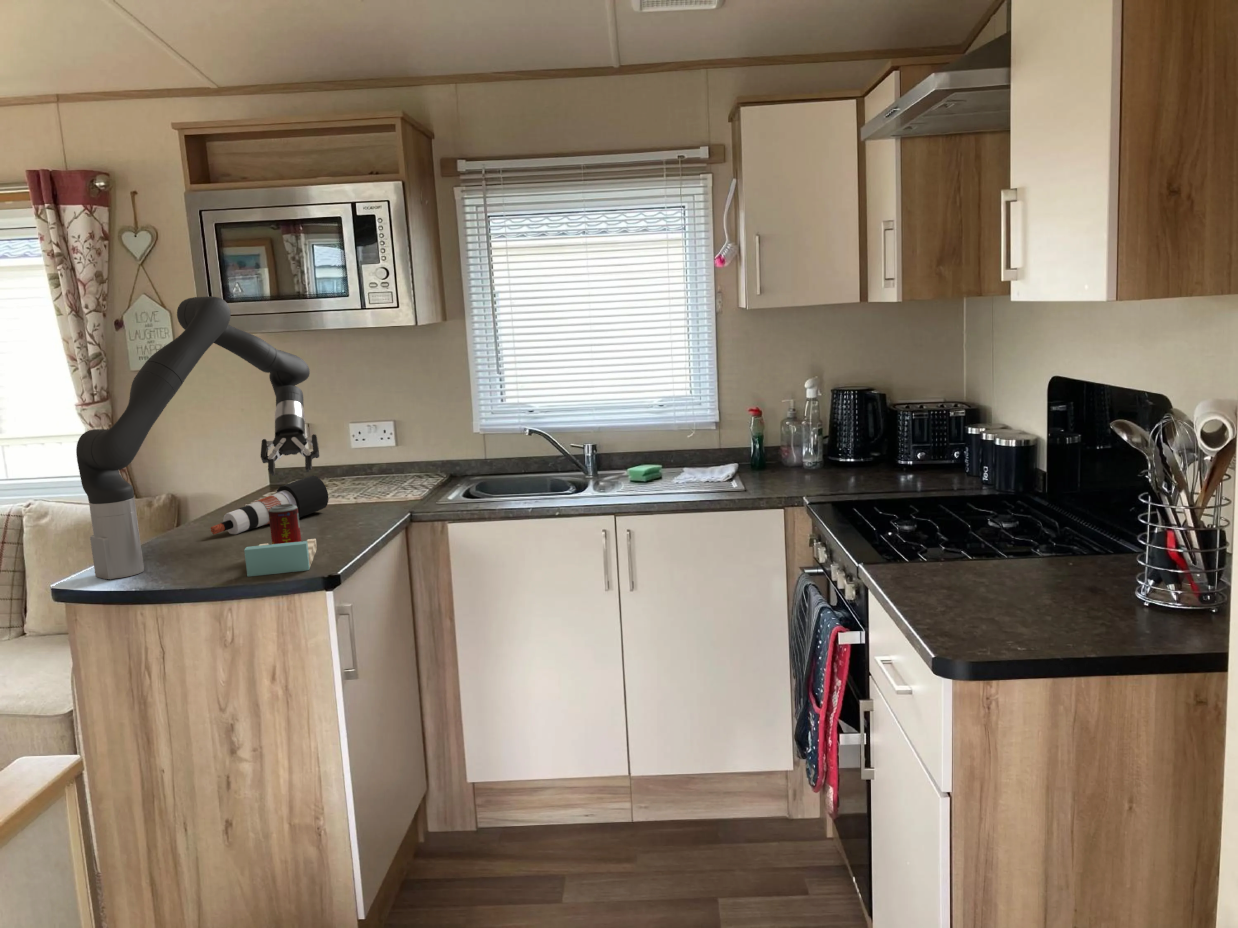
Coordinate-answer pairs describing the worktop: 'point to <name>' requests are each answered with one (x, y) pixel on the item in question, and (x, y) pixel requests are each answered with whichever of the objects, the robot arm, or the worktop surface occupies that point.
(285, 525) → the soda can
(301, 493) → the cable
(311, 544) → the guide rails
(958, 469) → the worktop surface
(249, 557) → the block
